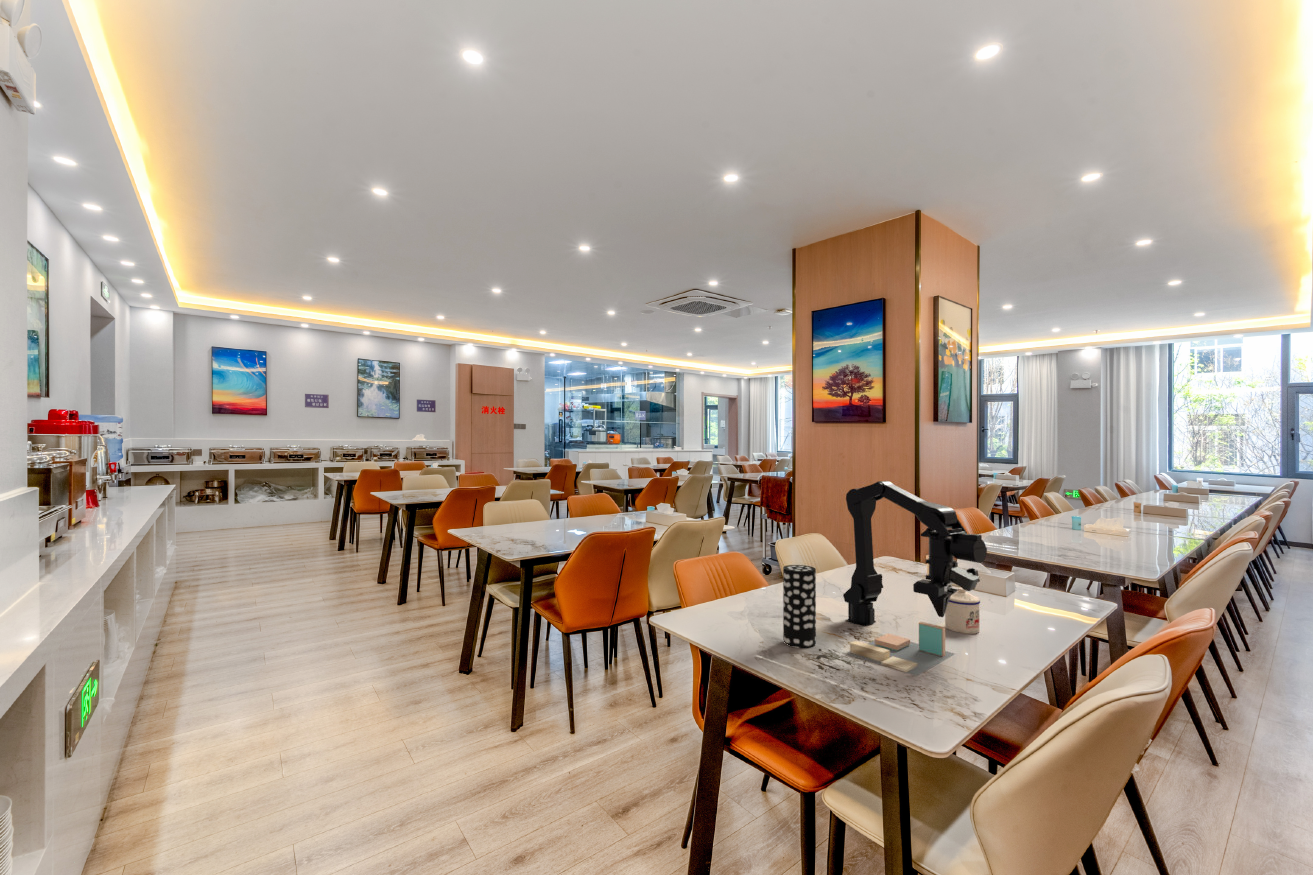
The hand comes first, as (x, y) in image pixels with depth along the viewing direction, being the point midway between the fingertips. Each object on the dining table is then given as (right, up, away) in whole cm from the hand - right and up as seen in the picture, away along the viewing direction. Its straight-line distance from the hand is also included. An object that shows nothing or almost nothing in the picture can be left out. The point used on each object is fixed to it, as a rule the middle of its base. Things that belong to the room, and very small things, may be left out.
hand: (941, 616), depth 146 cm
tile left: (-9, -7, +4) cm, 12 cm away
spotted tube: (-36, -9, +3) cm, 37 cm away
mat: (-12, -8, -4) cm, 16 cm away
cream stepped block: (-19, -8, -8) cm, 22 cm away
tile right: (-4, -8, -4) cm, 10 cm away
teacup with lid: (+15, -9, +17) cm, 24 cm away
